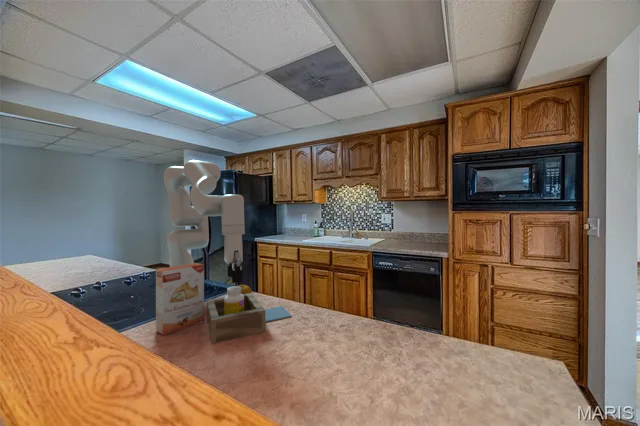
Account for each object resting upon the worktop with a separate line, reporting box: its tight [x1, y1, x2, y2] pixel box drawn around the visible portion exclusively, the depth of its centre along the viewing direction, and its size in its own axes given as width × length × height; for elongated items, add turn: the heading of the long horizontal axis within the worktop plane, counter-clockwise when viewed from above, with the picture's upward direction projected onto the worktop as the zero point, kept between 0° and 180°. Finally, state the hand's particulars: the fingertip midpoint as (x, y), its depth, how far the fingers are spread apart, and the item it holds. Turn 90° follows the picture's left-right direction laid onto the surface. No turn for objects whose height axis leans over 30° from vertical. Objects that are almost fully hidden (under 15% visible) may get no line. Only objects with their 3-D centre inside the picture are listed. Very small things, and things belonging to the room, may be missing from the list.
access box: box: [206, 292, 267, 344], centre depth 90 cm, size 20×16×7 cm
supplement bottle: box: [224, 285, 244, 315], centre depth 90 cm, size 7×7×13 cm
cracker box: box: [155, 262, 205, 336], centre depth 90 cm, size 14×6×21 cm, turn 143°
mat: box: [264, 305, 293, 323], centre depth 99 cm, size 11×11×1 cm
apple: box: [237, 284, 253, 294], centre depth 108 cm, size 9×8×9 cm
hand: (234, 279), depth 90 cm, fingers open, 9 cm apart
